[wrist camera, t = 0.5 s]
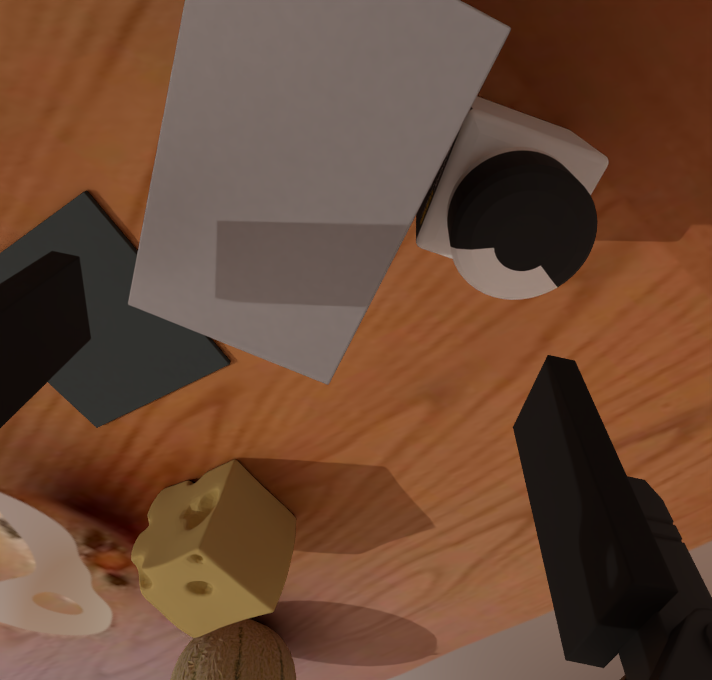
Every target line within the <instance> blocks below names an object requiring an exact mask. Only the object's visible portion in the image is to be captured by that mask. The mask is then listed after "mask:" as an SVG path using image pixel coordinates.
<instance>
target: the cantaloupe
mask: <svg viewBox="0 0 712 680" xmlns="http://www.w3.org/2000/svg"><path fill="white" fill-rule="evenodd" d="M170 680H296V673H295V666H294V662H293V659H292V656H291V653H290V651H289V649H288V647H287V645H286V644H285V643H284V641H283V640H282V638H281V637H280V636H279V635H278V634H277V633H276V632H275V631H273V630H272V629H270V628H269V627H267V626H265V625H262V624H260V623H258V622H256V621H254V620H250V619H245V620H242V621H238V622H236V623H233V624H230V625H227V626H224V627H221V628H218V629H216V630H214V631H211V632H209V633H207V634H205V635H202V636H200V637H197V638H194V639H193V640H192V641H190V643H189V644H188V645H187V646H186V648H185V649H184V650H183V652H182V653H181V655H180V656H179V658H178V661H177V663H176V665H175V668H174V670H173V673H172V677H171V679H170Z"/></svg>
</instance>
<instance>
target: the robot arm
mask: <svg viewBox="0 0 712 680" xmlns="http://www.w3.org/2000/svg"><path fill="white" fill-rule="evenodd" d="M90 340H91V334H90V327H89V320H88V313H87V306H86V299H85V291H84V284H83V277H82V270H81V263H80V256H75V255H70V254H65V253H61V252H56V251H51V252H49V253H48V254H46V255H45V256H43V257H41V258H40V259H38V260H37V261H35V262H34V263H32V264H30V265H29V266H27V267H26V268H24V269H23V270H21V271H19V272H18V273H16V274H15V275H13V276H12V277H10V278H8V279H7V280H5V281H4V282H2V283H1V284H0V428H1V427H2V426H3V425H4V424H5V423H6V422H7V421H8V420H9V419H10V418H11V417H12V416H13V415H14V414H15V413H16V412H17V411H18V410H19V409H20V408H21V407H22V406H23V405H24V404H25V403H26V402H27V401H28V400H29V399H30V398H32V397H33V396H34V395H35V394H36V393H37V392H38V391H39V390H40V389H41V388H42V387H43V386H44V385H45V384H46V383H47V382H48V381H49V380H50V379H51V378H52V377H53V376H54V375H55V374H56V373H57V372H58V371H59V370H60V369H61V368H62V367H63V366H64V365H65V364H66V363H67V362H68V361H69V360H70V359H71V358H72V357H73V356H74V355H75V354H76V353H77V352H78V351H79V350H80V349H81V348H82V347H83V346H84V345H86V344H87V343H88V342H89V341H90ZM513 429H514V434H515V438H516V443H517V447H518V451H519V456H520V460H521V465H522V469H523V474H524V478H525V482H526V487H527V491H528V496H529V500H530V505H531V509H532V513H533V518H534V522H535V527H536V531H537V536H538V540H539V544H540V549H541V553H542V558H543V562H544V567H545V571H546V575H547V580H548V584H549V589H550V593H551V598H552V602H553V607H554V611H555V615H556V619H557V624H558V629H559V633H560V638H561V642H562V646H563V650H564V655H565V659H566V660H567V661H572V662H577V663H582V664H587V665H592V666H597V667H602V668H604V667H605V666H606V665H607V664H608V663H609V662H610V661H611V660H612V659H613V658H614V657H615V656H616V655H617V654H618V653H619V656H620V659H621V662H622V666H623V669H624V672H625V675H624V676H623V677H622V678H621V679H620V680H712V597H711V595H710V593H709V591H708V590H707V587H706V586H705V583H704V581H703V579H702V578H701V575H700V574H699V571H698V569H697V567H696V565H695V563H694V562H693V560H692V557H691V555H690V553H689V551H688V549H687V547H686V545H685V543H682V541H681V540H682V538H681V536H680V534H679V532H678V530H677V528H676V526H675V525H673V520H672V518H671V516H670V514H669V512H668V510H667V508H666V506H665V504H664V502H663V500H662V499H661V498H660V496H659V495H658V494H657V493H656V492H655V491H654V490H653V489H652V488H651V486H650V485H649V484H648V483H647V482H646V481H645V480H642V479H638V478H633V477H628V476H627V475H626V473H625V471H624V469H623V467H622V464H621V462H620V460H619V458H618V455H617V453H616V451H615V449H614V447H613V444H612V442H611V440H610V438H609V435H608V433H607V431H606V429H605V426H604V424H603V422H602V420H601V418H600V415H599V413H598V411H597V409H596V406H595V404H594V402H593V400H592V398H591V395H590V393H589V391H588V389H587V386H586V384H585V382H584V380H583V377H582V375H581V373H580V371H579V369H578V366H577V364H576V362H575V361H574V360H569V359H565V358H560V357H555V356H550V355H548V356H547V358H546V360H545V362H544V364H543V366H542V368H541V370H540V372H539V374H538V376H537V378H536V380H535V383H534V385H533V387H532V389H531V391H530V393H529V395H528V397H527V399H526V401H525V403H524V405H523V407H522V409H521V412H520V414H519V416H518V418H517V420H516V422H515V424H514V426H513Z"/></svg>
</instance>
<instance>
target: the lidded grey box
mask: <svg viewBox="0 0 712 680" xmlns="http://www.w3.org/2000/svg"><path fill="white" fill-rule="evenodd" d="M510 31H511V28H510V27H509V26H507V25H506V24H504V23H502V22H500V21H498V20H496V19H494V18H492V17H491V16H489V15H487V14H485V13H483V12H481V11H479V10H477V9H475V8H474V7H472V6H470V5H468V4H466V3H464V2H462V1H460V0H185V4H184V9H183V15H182V20H181V25H180V30H179V36H178V41H177V46H176V52H175V57H174V62H173V68H172V73H171V78H170V83H169V89H168V94H167V99H166V105H165V110H164V115H163V121H162V126H161V131H160V136H159V142H158V147H157V152H156V158H155V163H154V168H153V174H152V179H151V184H150V189H149V195H148V200H147V205H146V211H145V216H144V221H143V227H142V232H141V237H140V242H139V248H138V253H137V258H136V264H135V269H134V274H133V280H132V285H131V290H130V295H129V301H128V304H129V305H131V306H133V307H136V308H138V309H141V310H143V311H146V312H148V313H151V314H153V315H156V316H158V317H161V318H163V319H165V320H168V321H170V322H173V323H175V324H178V325H180V326H183V327H185V328H188V329H190V330H193V331H195V332H198V333H200V334H203V335H205V336H208V337H210V338H213V339H215V340H218V341H220V342H223V343H225V344H228V345H230V346H233V347H235V348H238V349H240V350H243V351H245V352H248V353H250V354H253V355H255V356H258V357H260V358H263V359H265V360H268V361H270V362H273V363H275V364H278V365H280V366H283V367H285V368H288V369H290V370H293V371H295V372H297V373H300V374H302V375H305V376H307V377H310V378H312V379H315V380H317V381H320V382H322V383H325V384H329V383H330V381H331V379H332V377H333V375H334V373H335V371H336V369H337V367H338V366H339V364H340V362H341V360H342V358H343V356H344V354H345V352H346V350H347V348H348V346H349V344H350V342H351V340H352V338H353V336H354V334H355V332H356V330H357V329H358V327H359V325H360V323H361V321H362V319H363V317H364V315H365V313H366V311H367V309H368V307H369V305H370V303H371V301H372V299H373V297H374V295H375V294H376V292H377V290H378V288H379V286H380V284H381V282H382V280H383V278H384V276H385V274H386V272H387V270H388V268H389V266H390V264H391V262H392V260H393V258H394V257H395V255H396V253H397V251H398V249H399V247H400V245H401V243H402V241H403V239H404V237H405V235H406V233H407V231H408V229H409V227H410V225H411V223H412V222H413V220H414V218H415V216H416V214H417V212H418V210H419V208H420V206H421V204H422V202H423V200H424V198H425V196H426V194H427V192H428V190H429V188H430V186H431V185H432V183H433V181H434V179H435V177H436V175H437V173H438V171H439V169H440V167H441V165H442V163H443V161H444V159H445V157H446V155H447V153H448V151H449V150H450V148H451V146H452V144H453V142H454V140H455V138H456V136H457V134H458V132H459V130H460V128H461V126H462V124H463V122H464V120H465V118H466V116H467V114H468V113H469V111H470V109H471V107H472V105H473V103H474V101H475V99H476V97H477V95H478V93H479V91H480V89H481V87H482V85H483V83H484V81H485V79H486V78H487V76H488V74H489V72H490V70H491V68H492V66H493V64H494V62H495V60H496V58H497V56H498V54H499V52H500V50H501V48H502V46H503V44H504V42H505V41H506V39H507V37H508V35H509V33H510Z"/></svg>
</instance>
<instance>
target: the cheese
mask: <svg viewBox="0 0 712 680" xmlns="http://www.w3.org/2000/svg"><path fill="white" fill-rule="evenodd" d="M148 520H149V527H148V528H147V529H146V530H145V531H144V532H142V533H141V534H140V535H139V536H138V538H137V540H136V542H135V544H134V546H133V549H132V554H131V560H132V562H133V563H134V564H135V565H136V566H137V568H138V572H139V583H140V590H141V592H142V595H143V596H144V597H145V598H146V599H147V600H148V601H149V602H150V603H151V604H152V605H153V606H154V607H156V608H157V609H158V610H159V611H160V612H161V613H162V614H163V615H164V616H165V617H166V618H167V619H168V620H169V621H170V622H171V623H173V624H174V625H175V626H176V627H177V628H179V629H180V630H182V631H183V632H185V633H186V634H188V635H189V636H191V637H193V638H197V637H200V636H202V635H205V634H207V633H209V632H211V631H214V630H216V629H218V628H221V627H224V626H227V625H230V624H233V623H236V622H238V621H242V620H245V619H249V618H252V617H256V616H260V615H264V614H268V613H272V612H274V610H275V608H276V605H277V603H278V600H279V598H280V595H281V593H282V590H283V587H284V584H285V581H286V578H287V575H288V571H289V567H290V562H291V558H292V553H293V548H294V542H295V534H296V518H295V517H294V516H293V514H292V513H291V512H290V511H289V510H288V509H287V508H286V507H285V506H284V505H283V504H281V503H280V502H279V501H278V500H277V499H276V498H275V497H274V496H273V495H272V494H271V493H269V492H268V491H267V490H266V489H265V488H264V487H263V486H262V485H261V484H260V483H259V482H258V481H257V480H256V479H255V478H254V477H253V476H252V475H251V474H250V473H249V472H248V471H247V470H246V469H245V468H244V467H243V466H242V465H241V464H240V463H239V462H238V461H237V460H232V461H230V462H228V463H226V464H223V465H221V466H219V467H217V468H215V469H213V470H211V471H209V472H207V473H205V474H204V475H203V476H202V477H201V478H200V479H199V480H198V481H197V482H196V483H192V482H191V481H185V482H182V483H179V484H177V485H174V486H170V487H168V488H165V489H163V490H162V491H161V492H160V493H159V494H158V496H157V497H156V498H155V500H154V502H153V503H152V505H151V507H150V509H149V512H148Z"/></svg>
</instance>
